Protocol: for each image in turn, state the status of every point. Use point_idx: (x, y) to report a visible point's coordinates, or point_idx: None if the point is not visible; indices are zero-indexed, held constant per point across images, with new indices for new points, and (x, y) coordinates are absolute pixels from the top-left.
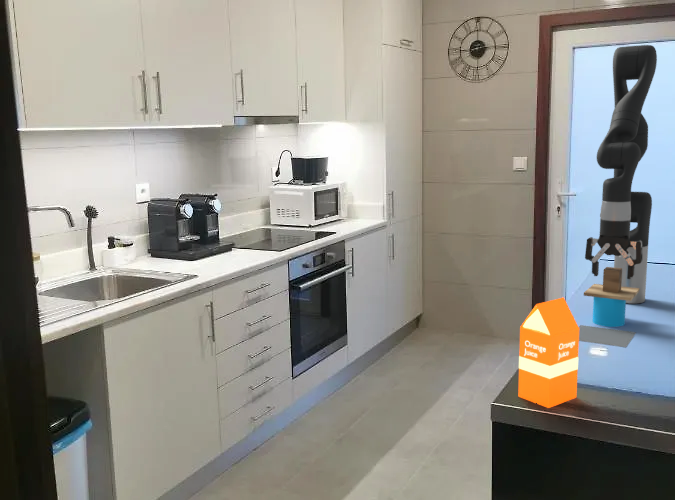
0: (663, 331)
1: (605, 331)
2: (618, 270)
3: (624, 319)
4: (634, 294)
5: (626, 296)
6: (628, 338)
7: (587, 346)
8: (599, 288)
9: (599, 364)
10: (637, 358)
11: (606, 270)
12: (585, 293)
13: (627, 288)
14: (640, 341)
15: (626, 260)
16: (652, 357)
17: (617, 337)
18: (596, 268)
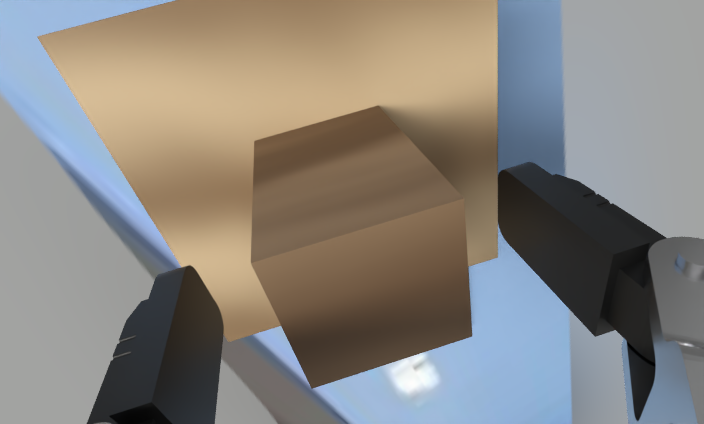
0: (540, 80)
1: None
2: (459, 326)
3: None
4: (496, 165)
5: (467, 250)
6: None
7: (377, 369)
8: (224, 185)
9: (445, 418)
10: (504, 351)
11: (340, 370)
12: (239, 335)
13: (404, 13)
14: None
15: (633, 414)
16: (533, 326)
17: None
18: (213, 394)
